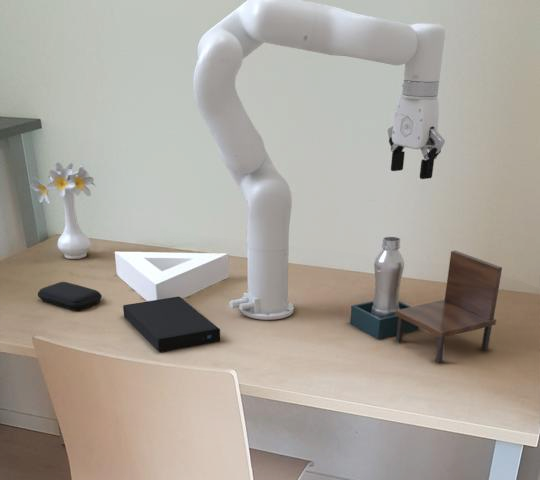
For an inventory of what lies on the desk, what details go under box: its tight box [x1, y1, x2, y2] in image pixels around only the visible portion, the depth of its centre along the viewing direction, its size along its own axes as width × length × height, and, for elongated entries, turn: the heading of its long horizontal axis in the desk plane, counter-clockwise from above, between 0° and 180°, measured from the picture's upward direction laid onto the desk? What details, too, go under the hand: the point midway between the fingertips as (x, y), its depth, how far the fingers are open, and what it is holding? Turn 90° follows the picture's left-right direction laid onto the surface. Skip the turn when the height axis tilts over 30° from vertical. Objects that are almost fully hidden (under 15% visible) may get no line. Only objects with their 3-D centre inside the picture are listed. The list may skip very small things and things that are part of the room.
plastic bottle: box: [371, 236, 405, 318], centre depth 175 cm, size 6×7×20 cm
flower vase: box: [29, 160, 96, 260], centre depth 217 cm, size 13×18×25 cm
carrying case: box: [37, 281, 103, 311], centre depth 192 cm, size 11×3×15 cm
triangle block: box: [114, 251, 230, 302], centre depth 203 cm, size 30×26×6 cm
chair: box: [395, 250, 503, 364], centre depth 166 cm, size 15×15×18 cm
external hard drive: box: [122, 297, 221, 353], centre depth 177 cm, size 14×23×3 cm, turn 28°
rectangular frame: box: [349, 300, 420, 340], centre depth 179 cm, size 12×11×4 cm
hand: (410, 174), depth 177 cm, fingers open, 9 cm apart
